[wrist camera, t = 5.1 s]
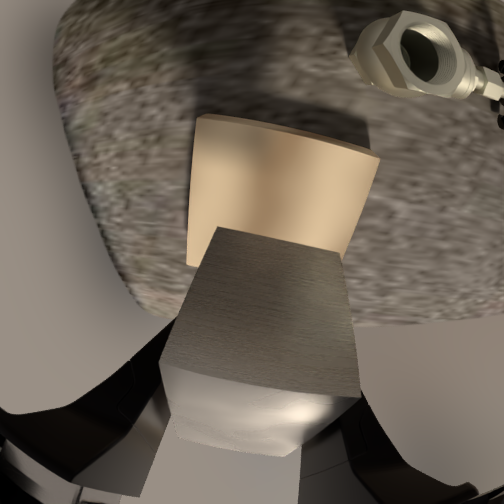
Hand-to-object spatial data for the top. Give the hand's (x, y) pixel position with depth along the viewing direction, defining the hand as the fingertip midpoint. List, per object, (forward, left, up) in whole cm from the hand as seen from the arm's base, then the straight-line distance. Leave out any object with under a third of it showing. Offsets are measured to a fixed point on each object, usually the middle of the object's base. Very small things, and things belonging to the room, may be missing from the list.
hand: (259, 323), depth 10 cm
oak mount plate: (0, 0, -10) cm, 10 cm away
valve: (-8, -12, -10) cm, 17 cm away
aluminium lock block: (0, 0, -1) cm, 1 cm away
